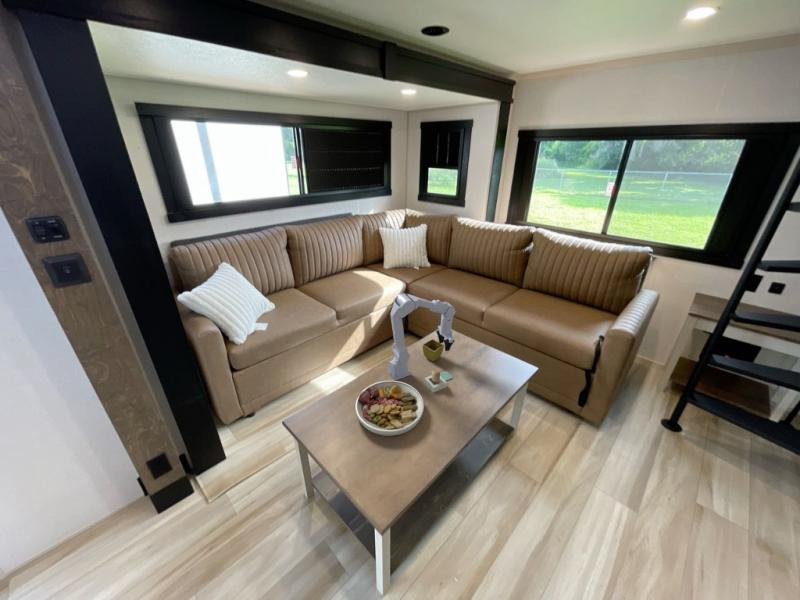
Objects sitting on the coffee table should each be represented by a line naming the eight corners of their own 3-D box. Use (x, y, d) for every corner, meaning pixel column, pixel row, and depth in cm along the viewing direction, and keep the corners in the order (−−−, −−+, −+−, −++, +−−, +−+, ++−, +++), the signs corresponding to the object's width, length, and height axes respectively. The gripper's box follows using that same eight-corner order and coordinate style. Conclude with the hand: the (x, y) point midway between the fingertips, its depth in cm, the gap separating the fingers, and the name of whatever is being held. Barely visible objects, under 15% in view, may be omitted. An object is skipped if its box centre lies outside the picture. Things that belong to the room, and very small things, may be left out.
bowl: (429, 395, 148) (429, 382, 144) (414, 447, 122) (415, 433, 118) (370, 383, 155) (369, 370, 151) (344, 430, 129) (343, 416, 125)
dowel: (434, 388, 151) (435, 376, 148) (429, 383, 154) (430, 371, 151) (440, 386, 153) (441, 373, 149) (436, 381, 156) (437, 368, 153)
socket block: (432, 392, 149) (433, 387, 147) (424, 382, 155) (424, 378, 154) (446, 387, 152) (446, 382, 151) (437, 377, 158) (437, 373, 157)
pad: (443, 381, 156) (443, 381, 156) (436, 374, 160) (436, 374, 160) (452, 378, 158) (453, 377, 158) (446, 371, 163) (446, 370, 163)
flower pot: (443, 358, 173) (444, 345, 169) (433, 365, 168) (434, 351, 164) (431, 351, 179) (432, 338, 175) (421, 357, 173) (422, 344, 170)
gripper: (459, 330, 155) (457, 352, 161) (447, 317, 167) (445, 338, 173) (447, 333, 153) (444, 355, 159) (435, 319, 165) (433, 340, 171)
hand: (444, 346), depth 166 cm, fingers open, 7 cm apart
